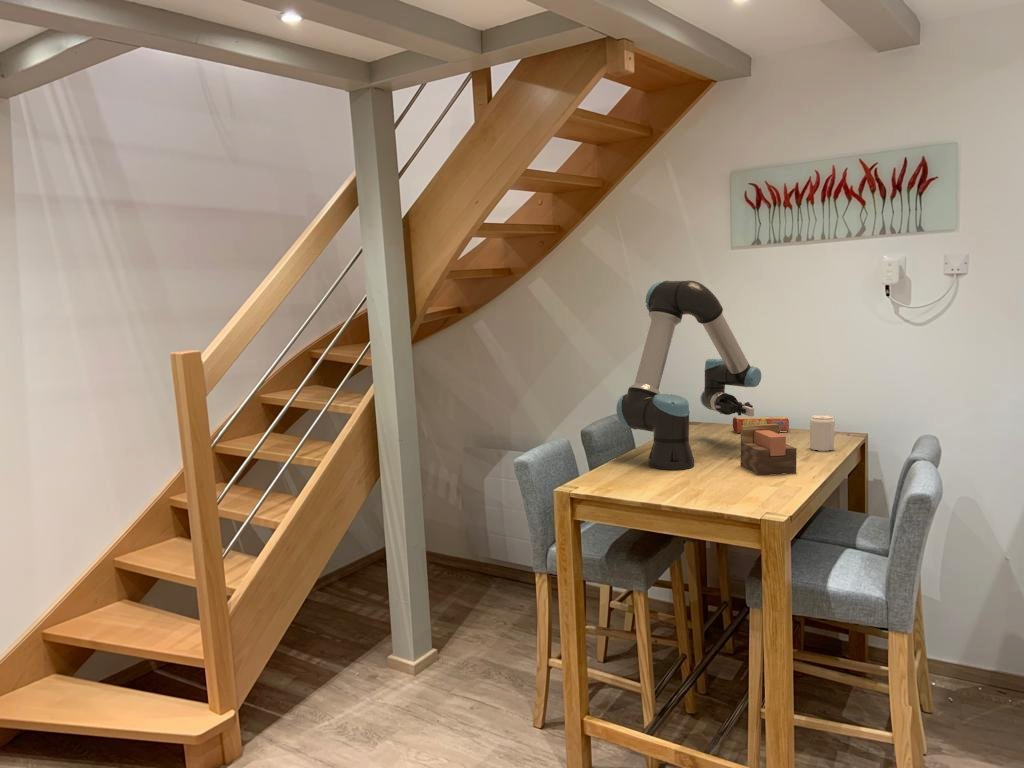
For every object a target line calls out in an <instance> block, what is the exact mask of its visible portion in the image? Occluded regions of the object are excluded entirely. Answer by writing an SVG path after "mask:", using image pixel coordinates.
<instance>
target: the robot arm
mask: <svg viewBox="0 0 1024 768" xmlns="http://www.w3.org/2000/svg"><path fill="white" fill-rule="evenodd" d="M645 304H646V306H645V307H646V309H647V311H648V316H649V318H650V325H649V327H648V331H647V335H646V339H645V343H644V347H643V350H642V355H641V358H640V362H639V365H638V370H637V373H636V375H635V380H634V383H633V384H632V385H630V386H628V389H627V393H624V394H623V395H621V397H619V399H618V400H617V403H616V416H617V418H618V421H619V423H620V424H621V425H622V426H624V427H626V428H629V429H632V430H639V431H645V432H646V431H647V432H650V433H651V432H653V442H652V447H651V450H650V453H649V456H648V466H649V467H651V468H653V469H658V470H666V471H667V470H669V471H678V470H680V471H681V470H686V469H687V470H688V469H690V468H693V467H694V466H695V457H694V455H693V450H692V447H691V445H690V406H689V401H688V400H687V398H685V397H683V396H680V395H676V394H669V393H661V392H660V391H659V389H660V385H661V382H662V379H663V374H664V371H665V367H666V366H665V365H666V363H667V359H668V355H669V351H670V348H671V343H672V340H673V336H674V333H675V330H676V326H677V325H679V324H681V322H682V319H683V315H691V316H693V317H694V318H695V319H696V322H697V323H699V324H701V325H702V326H703V327H704V329H705V331H706V333H707V334H708V336H709V338H710V340H711V342H712V344H713V345H714V347H715V349H716V351H717V353H718V354H719V356H720V358H708V359H706V360H705V364H704V387H703V388H704V390H703V391H702V392H701V395H700V397H699V398H700V402H701V405H702V406H703V407H704V408H706V409H708V410H710V411H711V410H712V411H714V412H717V413H719V415H725V416H729V415H733V414H737V416H742V415H745V416H746V417H755V408H754V406H753V405H752V404H751V403H750V402H749V401H747V402H744V403H742V402H741V401H739V400H738V399H737V397H735V396H734V395H733V394H729V393H726V392H725V390H726V386H734V387H741V388H755V387H758V386H759V384H760V383H761V380H762V371H761V369H760V368H759V367H756V366H753V365H750V363H749V362H748V359H747V358H746V356H745V354H744V352H743V350H742V347H741V346H740V345H739V342H738V341H737V339H736V337H735V335H734V333H733V331H732V329H731V327H730V325H729V324H728V322H727V320H726V318H725V316H724V314H723V312H724V307H723V306H722V305H721V302H720V301H719V299H718V297H717V296H715V294H714V293H713V292H712V291H711V290H710V289H709V288H708V287H706V286H705V285H704V284H702V283H700V282H698V281H696V280H690V279H689V280H663V281H658V282H656V283H654V284H652V285H651V286H650V287H649V289H648V290H647V293H646V296H645Z"/></svg>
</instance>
